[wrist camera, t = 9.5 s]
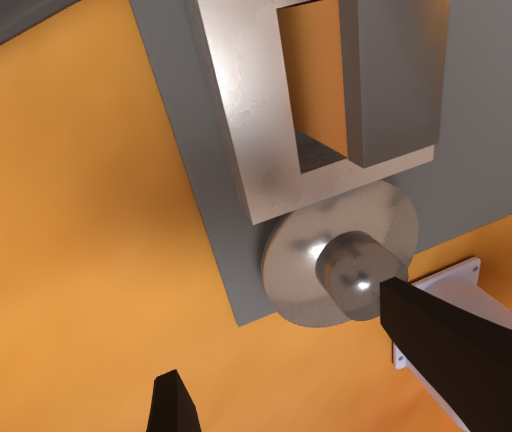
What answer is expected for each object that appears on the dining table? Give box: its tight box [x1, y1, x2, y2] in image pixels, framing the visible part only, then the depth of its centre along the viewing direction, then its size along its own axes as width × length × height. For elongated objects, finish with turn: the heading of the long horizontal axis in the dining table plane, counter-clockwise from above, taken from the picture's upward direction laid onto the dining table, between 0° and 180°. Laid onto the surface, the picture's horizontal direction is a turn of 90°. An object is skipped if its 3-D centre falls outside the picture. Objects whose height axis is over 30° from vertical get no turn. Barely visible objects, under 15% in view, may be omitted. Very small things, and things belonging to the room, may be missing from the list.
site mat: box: [129, 0, 512, 327], centre depth 19 cm, size 24×24×1 cm
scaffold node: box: [183, 0, 434, 328], centre depth 16 cm, size 26×10×5 cm, turn 12°
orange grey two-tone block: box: [276, 0, 451, 169], centre depth 14 cm, size 5×3×7 cm, turn 11°
